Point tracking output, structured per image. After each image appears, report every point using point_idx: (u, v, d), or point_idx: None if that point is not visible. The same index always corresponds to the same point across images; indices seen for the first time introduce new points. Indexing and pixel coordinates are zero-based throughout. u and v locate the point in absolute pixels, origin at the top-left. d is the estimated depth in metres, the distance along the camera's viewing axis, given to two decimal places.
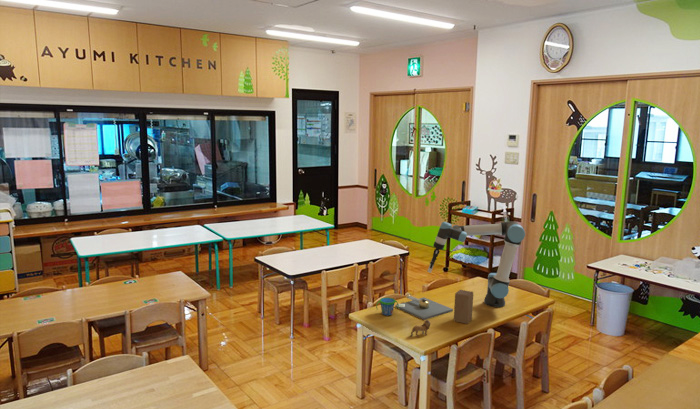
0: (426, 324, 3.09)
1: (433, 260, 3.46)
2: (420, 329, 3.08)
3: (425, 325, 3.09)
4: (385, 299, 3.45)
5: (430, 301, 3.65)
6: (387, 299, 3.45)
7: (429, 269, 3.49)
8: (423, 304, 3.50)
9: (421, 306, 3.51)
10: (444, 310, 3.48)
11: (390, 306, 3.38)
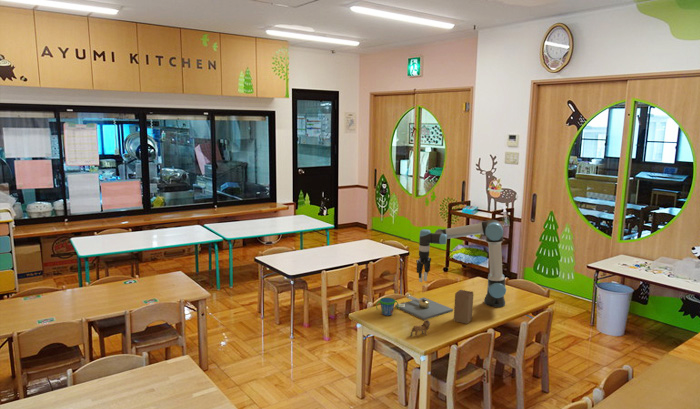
0: (426, 324, 3.09)
1: (417, 270, 3.59)
2: (420, 329, 3.08)
3: (425, 325, 3.09)
4: (385, 299, 3.45)
5: (430, 301, 3.65)
6: (387, 299, 3.45)
7: (419, 279, 3.62)
8: (423, 304, 3.50)
9: (421, 306, 3.51)
10: (444, 310, 3.48)
11: (390, 306, 3.38)
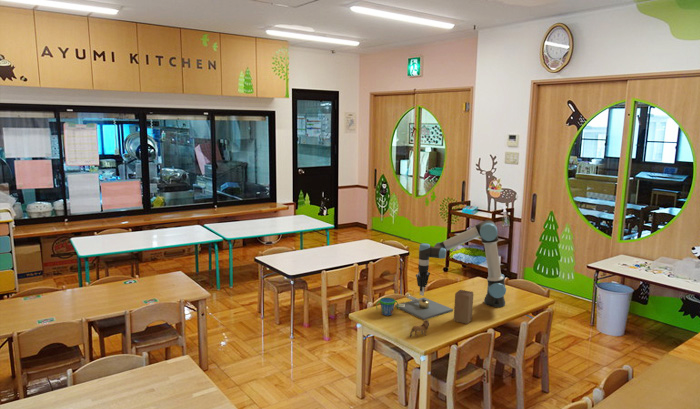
0: (425, 324, 3.09)
1: (418, 283, 3.62)
2: (419, 329, 3.08)
3: (424, 325, 3.09)
4: (385, 299, 3.45)
5: (430, 301, 3.65)
6: (387, 299, 3.45)
7: (420, 292, 3.65)
8: (423, 304, 3.50)
9: (421, 306, 3.51)
10: (444, 310, 3.48)
11: (390, 306, 3.38)
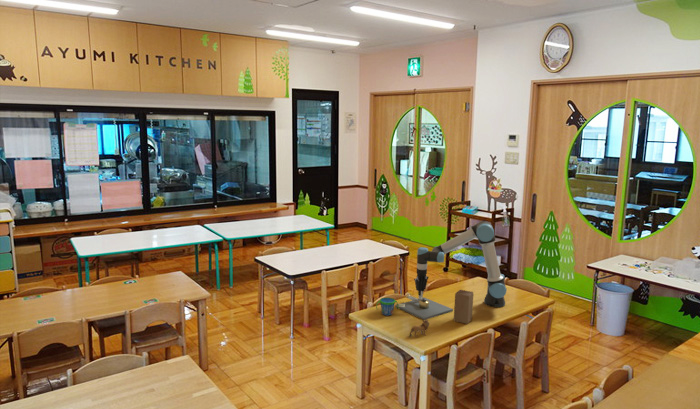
0: (425, 324, 3.09)
1: (417, 288, 3.61)
2: (419, 329, 3.07)
3: (424, 325, 3.08)
4: (385, 299, 3.45)
5: (430, 301, 3.65)
6: (387, 299, 3.45)
7: (419, 296, 3.65)
8: (423, 304, 3.50)
9: (421, 306, 3.51)
10: (444, 310, 3.48)
11: (390, 306, 3.38)
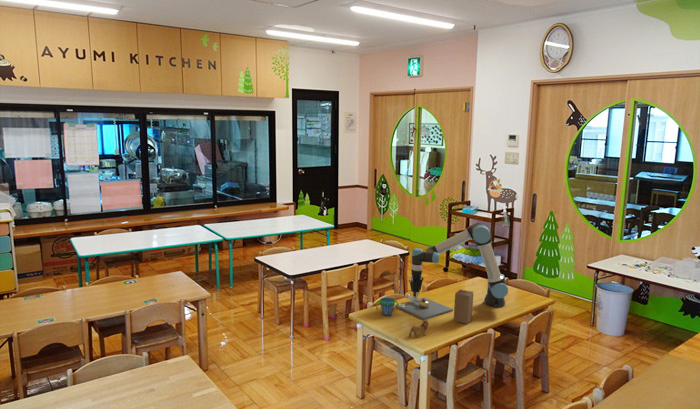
0: (424, 324, 3.09)
1: (412, 289, 3.58)
2: (418, 329, 3.07)
3: (423, 325, 3.08)
4: (385, 299, 3.45)
5: (430, 301, 3.65)
6: (387, 299, 3.45)
7: None
8: (423, 304, 3.50)
9: (421, 306, 3.51)
10: (444, 310, 3.48)
11: (390, 306, 3.38)
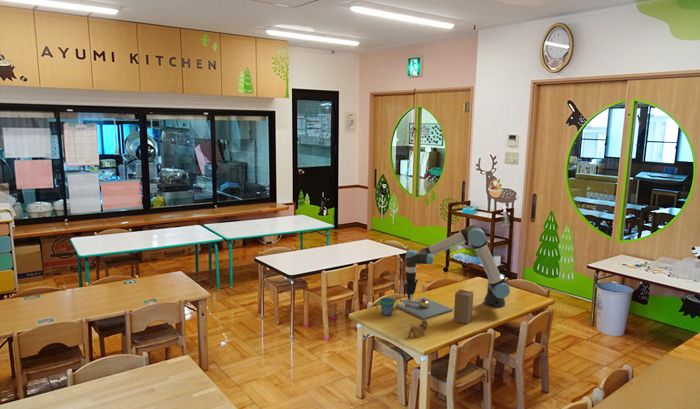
0: (424, 324, 3.08)
1: (406, 291, 3.55)
2: (418, 329, 3.07)
3: (423, 325, 3.08)
4: (385, 299, 3.45)
5: (430, 301, 3.65)
6: (387, 299, 3.45)
7: None
8: (426, 304, 3.50)
9: (424, 306, 3.50)
10: (444, 310, 3.48)
11: (390, 306, 3.38)
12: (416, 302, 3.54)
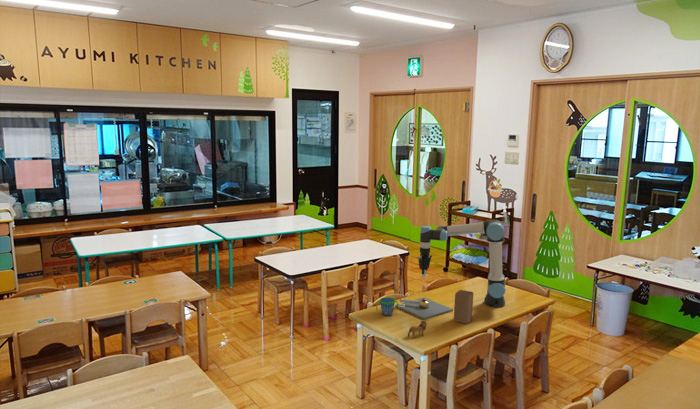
0: (423, 324, 3.08)
1: (420, 266, 3.61)
2: (417, 330, 3.07)
3: (422, 325, 3.08)
4: (385, 299, 3.45)
5: (430, 301, 3.65)
6: (387, 299, 3.45)
7: (422, 275, 3.64)
8: (426, 304, 3.50)
9: (424, 306, 3.50)
10: (444, 310, 3.48)
11: (390, 306, 3.38)
12: (416, 302, 3.54)
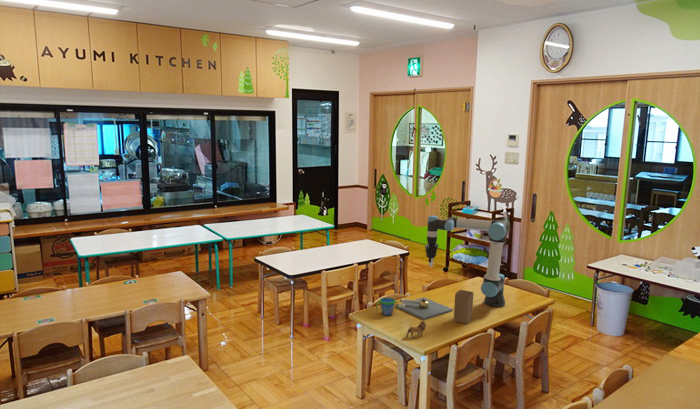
0: (422, 325, 3.07)
1: (427, 255, 3.72)
2: (415, 330, 3.06)
3: (421, 326, 3.07)
4: (385, 299, 3.45)
5: (430, 301, 3.65)
6: (387, 299, 3.45)
7: (429, 263, 3.75)
8: (426, 304, 3.50)
9: (424, 306, 3.50)
10: (444, 310, 3.48)
11: (390, 306, 3.38)
12: (416, 302, 3.54)
